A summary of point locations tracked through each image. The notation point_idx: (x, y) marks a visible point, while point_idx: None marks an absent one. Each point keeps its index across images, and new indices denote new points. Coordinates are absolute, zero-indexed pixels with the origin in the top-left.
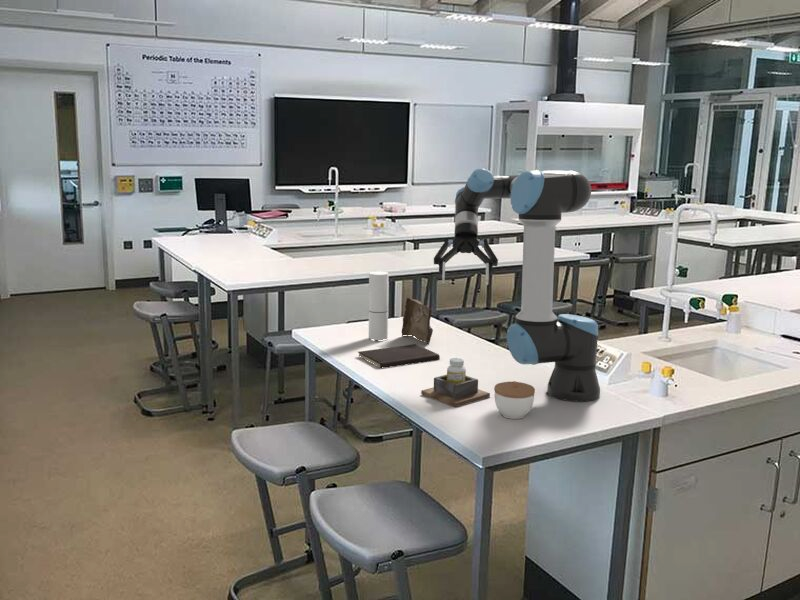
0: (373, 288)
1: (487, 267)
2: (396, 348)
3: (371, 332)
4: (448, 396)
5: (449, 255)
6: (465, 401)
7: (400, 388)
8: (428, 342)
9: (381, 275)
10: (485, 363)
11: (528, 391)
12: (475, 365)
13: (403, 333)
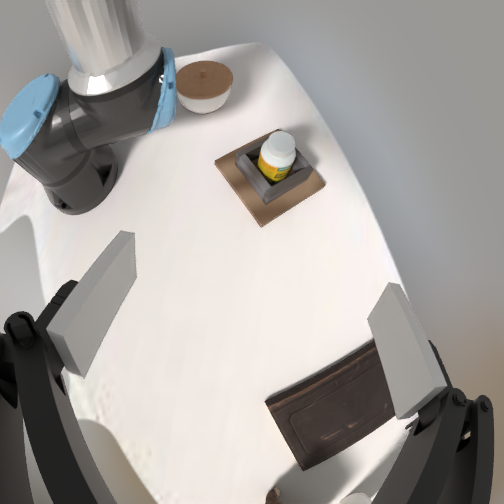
0: None
1: (77, 298)
2: (345, 438)
3: (370, 500)
4: None
5: (425, 459)
6: (261, 137)
7: (353, 221)
8: (269, 494)
9: None
10: (170, 369)
11: (190, 65)
12: (194, 357)
13: None
